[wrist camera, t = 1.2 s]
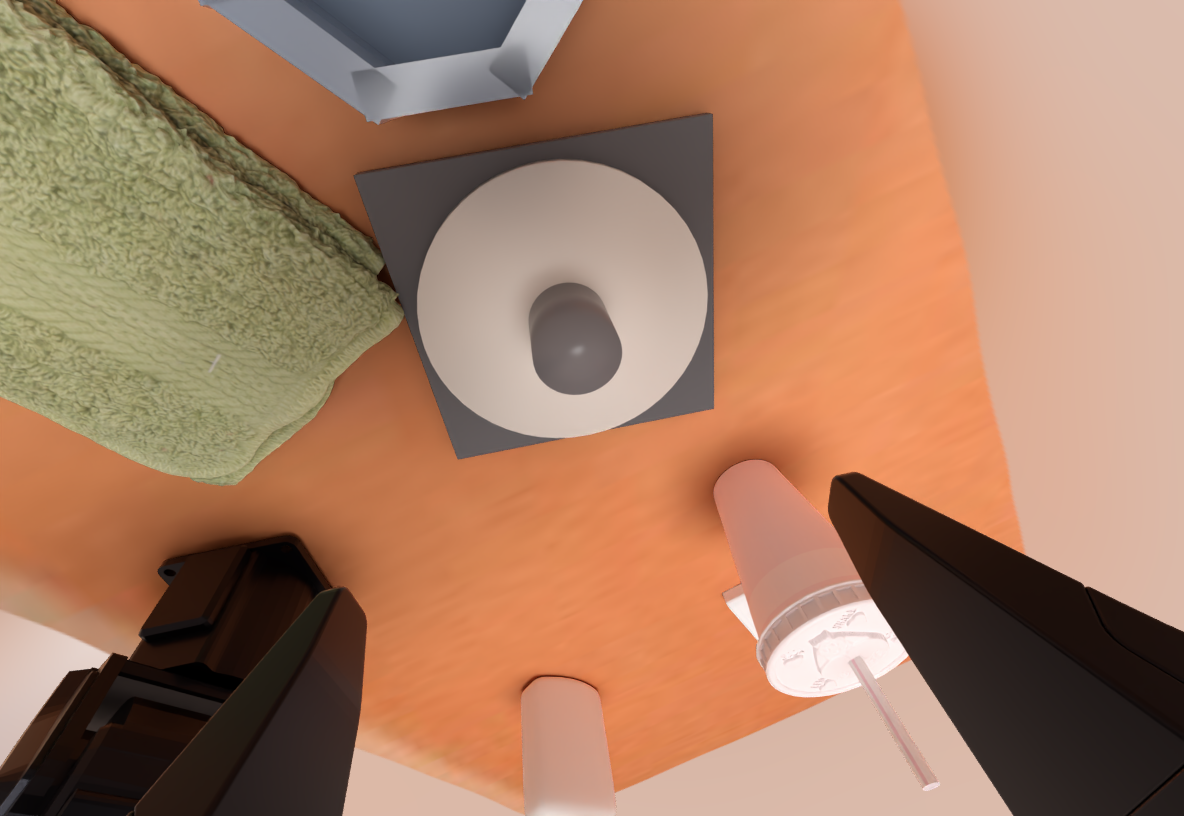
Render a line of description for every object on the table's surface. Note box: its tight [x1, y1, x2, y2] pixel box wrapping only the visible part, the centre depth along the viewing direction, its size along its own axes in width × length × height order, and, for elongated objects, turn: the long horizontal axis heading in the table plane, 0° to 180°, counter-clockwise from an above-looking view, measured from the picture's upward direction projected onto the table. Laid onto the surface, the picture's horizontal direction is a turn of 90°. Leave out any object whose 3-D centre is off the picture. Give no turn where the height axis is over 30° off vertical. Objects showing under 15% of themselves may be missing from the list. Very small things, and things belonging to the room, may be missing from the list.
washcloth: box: [0, 0, 404, 486], centre depth 16 cm, size 13×18×3 cm
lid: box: [417, 159, 708, 438], centre depth 18 cm, size 11×11×4 cm
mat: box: [353, 113, 714, 459], centre depth 20 cm, size 12×12×1 cm
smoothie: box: [713, 460, 940, 790], centre depth 22 cm, size 6×6×14 cm
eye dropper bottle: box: [521, 677, 616, 816], centre depth 31 cm, size 4×6×12 cm
